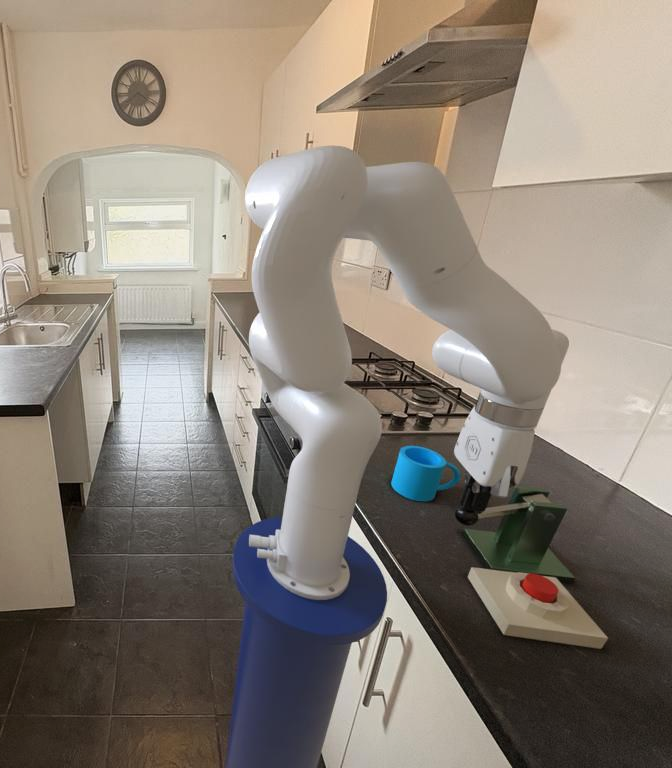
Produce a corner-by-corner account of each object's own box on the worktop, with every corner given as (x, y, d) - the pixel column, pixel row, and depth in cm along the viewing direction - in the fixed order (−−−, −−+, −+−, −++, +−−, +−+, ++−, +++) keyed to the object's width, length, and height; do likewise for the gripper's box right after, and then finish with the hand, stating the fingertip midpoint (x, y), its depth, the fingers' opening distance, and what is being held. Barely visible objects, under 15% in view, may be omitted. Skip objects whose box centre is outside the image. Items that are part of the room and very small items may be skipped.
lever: (461, 531, 69) (459, 516, 68) (452, 518, 72) (450, 503, 71) (554, 518, 65) (553, 502, 64) (540, 505, 68) (540, 489, 67)
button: (531, 601, 59) (536, 592, 58) (516, 580, 62) (520, 571, 61) (560, 605, 58) (565, 596, 58) (543, 583, 62) (547, 575, 61)
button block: (503, 635, 58) (513, 615, 56) (467, 577, 67) (474, 558, 65) (601, 649, 56) (614, 629, 55) (550, 587, 65) (560, 568, 64)
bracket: (489, 572, 68) (516, 511, 63) (462, 533, 76) (484, 475, 71) (572, 583, 66) (607, 520, 61) (535, 541, 74) (563, 483, 69)
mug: (398, 498, 85) (407, 465, 82) (386, 475, 92) (394, 443, 89) (462, 506, 83) (475, 472, 80) (445, 481, 90) (456, 450, 87)
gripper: (455, 387, 69) (427, 478, 76) (509, 433, 55) (469, 538, 63) (505, 390, 68) (472, 482, 75) (573, 437, 54) (525, 543, 61)
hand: (471, 507), depth 69 cm, fingers closed
